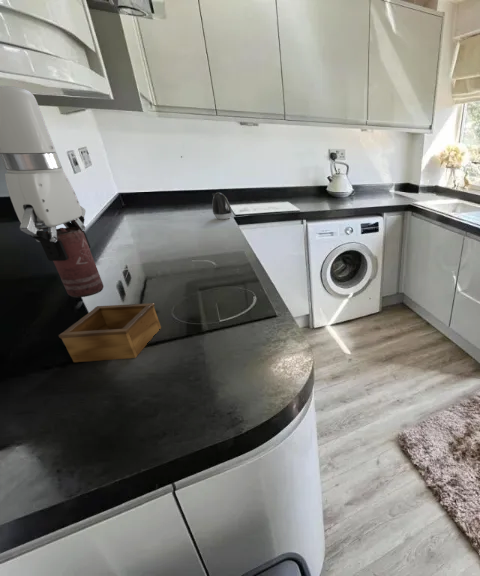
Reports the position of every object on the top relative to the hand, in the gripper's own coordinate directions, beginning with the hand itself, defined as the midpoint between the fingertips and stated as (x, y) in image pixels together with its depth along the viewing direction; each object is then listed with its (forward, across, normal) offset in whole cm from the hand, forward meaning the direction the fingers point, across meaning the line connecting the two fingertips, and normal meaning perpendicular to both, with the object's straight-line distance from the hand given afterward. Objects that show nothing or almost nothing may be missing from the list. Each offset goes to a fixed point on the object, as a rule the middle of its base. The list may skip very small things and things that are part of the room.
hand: (70, 253), depth 68 cm
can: (+9, 0, 0) cm, 9 cm away
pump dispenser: (+25, -131, -9) cm, 134 cm away
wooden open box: (+25, -2, +1) cm, 25 cm away
